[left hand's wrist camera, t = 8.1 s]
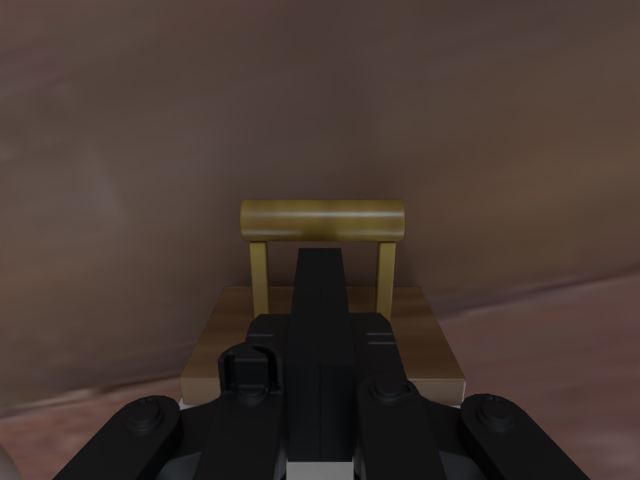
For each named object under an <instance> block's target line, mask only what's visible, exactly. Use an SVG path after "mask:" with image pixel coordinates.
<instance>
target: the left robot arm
mask: <svg viewBox="0 0 640 480" xmlns="http://www.w3.org/2000/svg"><path fill="white" fill-rule="evenodd" d="M217 361H218V370H219V380H220V390H221V394H220V397H218V398H217V399H215V400H213V401H211V402H208V403H205V404H202V405H199V406H195V407H191V408H187V409H182V410H180V406H179V405H178V403H177V402H176V401H175V400H174V399H172V398H169V397H167V396H155V395H152V396H148V397H144V398H139V399H137V400H135V401H133V402H131V403H129V404H127V405H125V406H124V407H123V408H122V409H120V410H119V411H118V412H117V413H115V414H114V416H113V417H112V418H111V419H110V420H109V421H108V422H107V423H106V424H105V425H104V426H103V427H102V428H101V429H100V430H99V431H98V432H97V433H96V434H95V435H94V436H93V437H92V439H91V440H90V441H89V442H88V443H87V444H86V445H85V446H84V447H83V448H82V449H81V450H80V451H79V452H78V453H77V454H76V455H75V456H74V457H73V458H72V459H71V460H70V461H69V463H68V464H67V465H66V466H65V467H64V468H63V469H62V470H61V471H60V472H59V473H58V474H57V475H56V476H55V477H54V478H53V479H52V480H287V470H286V466H287V460H288V462H352V460H353V464H354V470H353V480H590V479H589V478H588V477H587V476H586V475H585V474H584V473H583V471H582V470H581V469H580V468H579V467H578V466H577V465H576V464H575V463H574V462H573V461H572V460H571V459H570V458H569V457H568V456H567V455H566V454H565V453H564V452H563V451H562V450H561V449H560V448H559V447H558V446H557V444H556V443H555V442H554V441H553V440H552V439H551V438H550V437H549V436H548V435H547V434H546V433H545V432H544V431H543V430H542V429H541V428H540V427H539V426H538V425H537V424H536V423H535V422H534V421H533V420H532V419H531V417H530V416H529V415H528V414H527V413H526V412H525V411H524V410H522V409H521V408H520V407H518V406H517V405H516V404H515V403H513V402H511V401H509V400H507V399H505V398H503V397H500V396H495V395H491V394H474V395H472V396H469V397H467V398H465V400H464V401H463V402H462V403H461V404H460V408H456V407H452V406H448V405H444V404H440V403H437V402H434V401H431V400H429V399H427V398H425V397H423V396H421V395H420V393H419V391H418V389H417V388H416V386H415V385H414V384H413V383H412V382H411V381H410V380H408V379H407V377H406V374H405V370H404V367H403V364H402V360H401V357H400V354H399V351H398V347H397V344H396V341H395V337H394V335H393V331H392V327H391V324H390V322H389V321H388V320H387V319H386V318H385V317H384V316H383V315H382V314H381V313H349V306H348V299H347V291H346V284H345V276H344V268H343V261H342V253H341V248H299V253H298V261H297V268H296V276H295V284H294V291H293V299H292V306H291V314H259V315H258V316H257V317H256V318H255V319H254V320H253V321H252V322H251V323H250V326H249V329H248V332H247V337H246V339H245V342H243V343H240V344H237V345H234V346H231V347H230V348H228V349H227V350H225V351H224V352H223V353H222V354H221V355H220V357H219V358H218V360H217Z"/></svg>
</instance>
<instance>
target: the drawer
mask: <svg viewBox="0 0 640 480" xmlns="http://www.w3.org/2000/svg"><path fill="white" fill-rule="evenodd" d="M240 231H241V236H242V239H243V240H244V241H250V244H249V245H250V260H251V275H252V286H226V287H225V288H224V290H223V292H222V294H221V296H220V298H219V300H218V302H217V304H216V306H215V308H214V310H213V312H212V314H211V316H210V318H209V320H208V322H207V324H206V326H205V328H204V330H203V332H202V334H201V336H200V338H199V340H198V342H197V344H196V346H195V348H194V350H193V352H192V354H191V357H190V359H189V361H188V363H187V365H186V367H185V369H184V371H183V373H182V375H181V377H180V386H181V393H182V400H183V404H184V405H202V404H205V403H208V402H211V401H213V400H215V399H217V398H218V397H220V394H221V390H220V380H219V370H218V361H217V360H218V358H219V357H220V355H221V354H222V353H223V352H224V351H225V350H227V349H228V348H230V347H231V346H234V345H237V344H240V343H243V342H245V339H246V337H247V332H248V329H249V326H250V323H251V322H252V321H253V320H254V319H255V318H256V317H257V316H258V315H259V314H291V306H292V299H293V291H294V286H270V285H269V265H268V245H267V241H378V247H377V266H376V286H375V287H346V291H347V299H348V306H349V313H381V314H382V315H383V316H384V317H385V318H386V319H387V320H388V321H389V322H390V324H391V327H392V331H393V335H394V337H395V341H396V344H397V347H398V351H399V354H400V357H401V360H402V364H403V367H404V370H405V374H406V377H407V379H408V380H410V381H411V382H412V383H413V384H414V385H415V386H416V388H417V389H418V391H419V393H420V395H421V396H423V397H425V398H427V399H429V400H431V401H434V402H437V403H440V404H444V405H448V406H460V404H461V403H462V402H463V397H464V390H465V384H466V379H465V377H464V375H463V373H462V371H461V369H460V366H459V364H458V362H457V360H456V358H455V356H454V354H453V352H452V350H451V348H450V346H449V344H448V342H447V340H446V338H445V336H444V334H443V332H442V330H441V328H440V326H439V324H438V322H437V320H436V318H435V316H434V314H433V312H432V310H431V308H430V306H429V304H428V301H427V299H426V297H425V295H424V293H423V291H422V289H421V287H393V278H394V263H395V248H396V243H395V241H402V239H403V237H404V232H405V207H404V203H403V201H402V200H243V201H242V204H241V209H240Z"/></svg>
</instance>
